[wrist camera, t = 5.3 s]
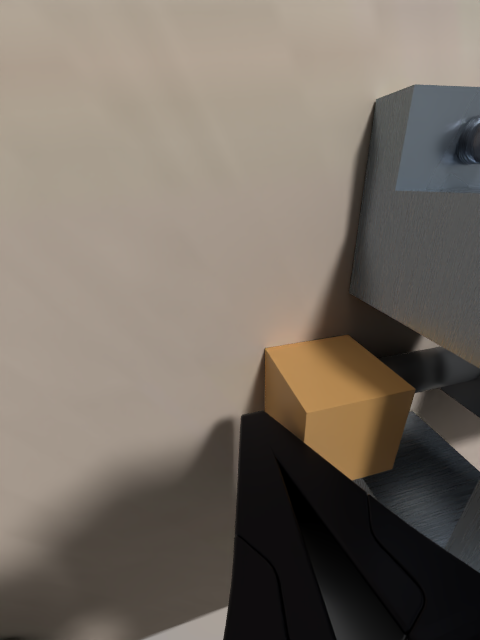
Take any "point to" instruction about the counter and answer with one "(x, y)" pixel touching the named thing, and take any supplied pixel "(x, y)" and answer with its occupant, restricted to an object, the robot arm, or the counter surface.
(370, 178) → the housing
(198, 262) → the counter surface
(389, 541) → the robot arm
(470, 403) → the plug
